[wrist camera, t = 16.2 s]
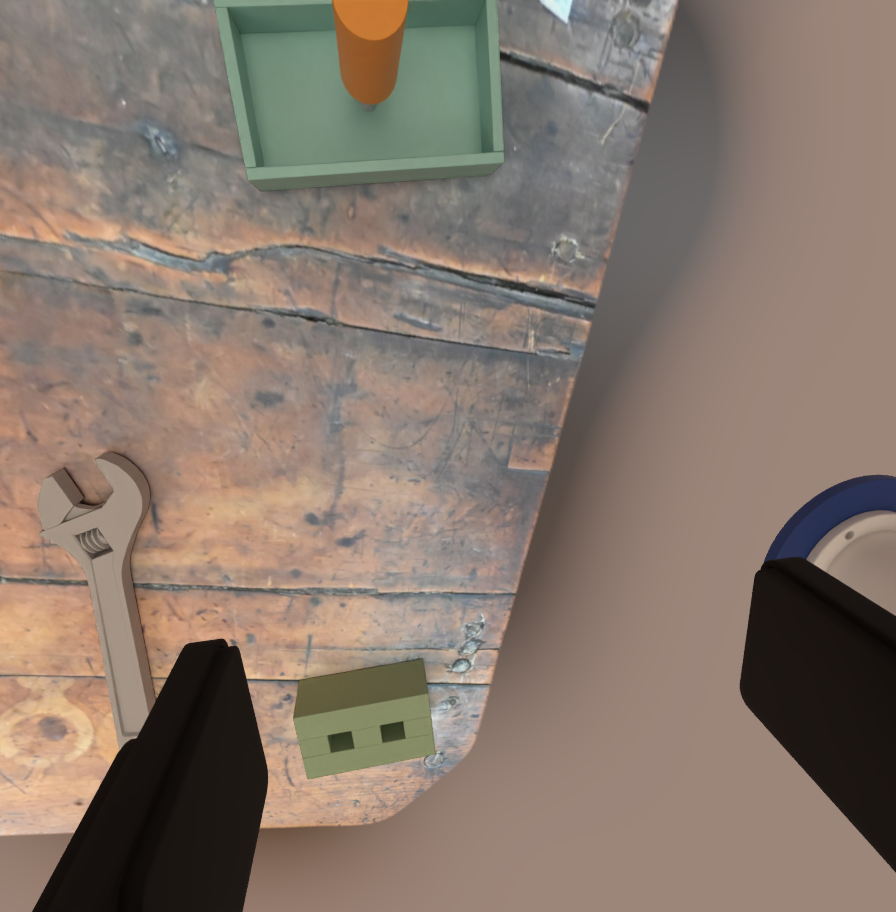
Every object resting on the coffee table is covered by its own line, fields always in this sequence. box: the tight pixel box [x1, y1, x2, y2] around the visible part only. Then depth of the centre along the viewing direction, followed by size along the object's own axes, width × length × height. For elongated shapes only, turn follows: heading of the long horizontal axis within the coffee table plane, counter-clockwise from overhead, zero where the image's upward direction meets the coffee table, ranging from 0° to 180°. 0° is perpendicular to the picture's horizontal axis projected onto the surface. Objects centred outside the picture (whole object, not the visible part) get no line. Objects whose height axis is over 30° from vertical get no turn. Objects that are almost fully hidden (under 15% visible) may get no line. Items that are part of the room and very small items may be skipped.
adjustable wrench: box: [38, 452, 156, 751], centre depth 38 cm, size 25×6×2 cm, turn 173°
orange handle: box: [332, 0, 409, 111], centre depth 25 cm, size 3×3×12 cm
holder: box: [293, 659, 436, 779], centre depth 42 cm, size 6×10×4 cm, turn 95°
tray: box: [213, 0, 504, 191], centre depth 29 cm, size 8×14×4 cm, turn 95°
